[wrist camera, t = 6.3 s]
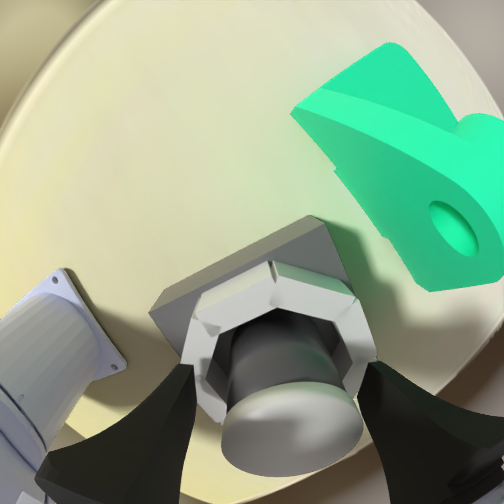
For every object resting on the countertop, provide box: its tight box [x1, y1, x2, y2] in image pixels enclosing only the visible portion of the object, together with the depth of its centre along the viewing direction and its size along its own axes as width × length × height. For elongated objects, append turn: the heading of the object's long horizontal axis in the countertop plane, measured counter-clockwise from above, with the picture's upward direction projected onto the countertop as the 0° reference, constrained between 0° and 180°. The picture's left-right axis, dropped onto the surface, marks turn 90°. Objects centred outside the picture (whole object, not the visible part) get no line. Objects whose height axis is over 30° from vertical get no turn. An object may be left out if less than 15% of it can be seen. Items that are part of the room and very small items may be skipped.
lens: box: [221, 308, 363, 477], centre depth 10 cm, size 5×5×6 cm
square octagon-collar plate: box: [148, 215, 378, 426], centre depth 13 cm, size 9×9×5 cm
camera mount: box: [290, 42, 504, 292], centre depth 9 cm, size 12×8×10 cm, turn 42°
